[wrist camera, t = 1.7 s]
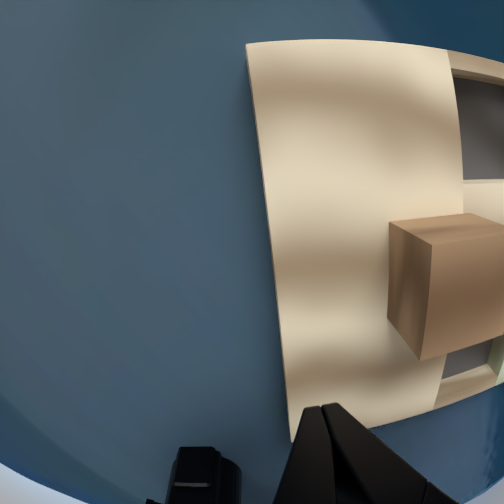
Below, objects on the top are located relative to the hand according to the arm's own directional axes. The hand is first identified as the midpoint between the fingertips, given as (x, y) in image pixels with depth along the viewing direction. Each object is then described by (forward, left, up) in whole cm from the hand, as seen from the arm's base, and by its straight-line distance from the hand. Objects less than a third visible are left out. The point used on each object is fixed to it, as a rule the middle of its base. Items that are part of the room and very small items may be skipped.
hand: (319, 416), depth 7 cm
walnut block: (0, -8, -8) cm, 11 cm away
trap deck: (0, -13, -10) cm, 16 cm away
